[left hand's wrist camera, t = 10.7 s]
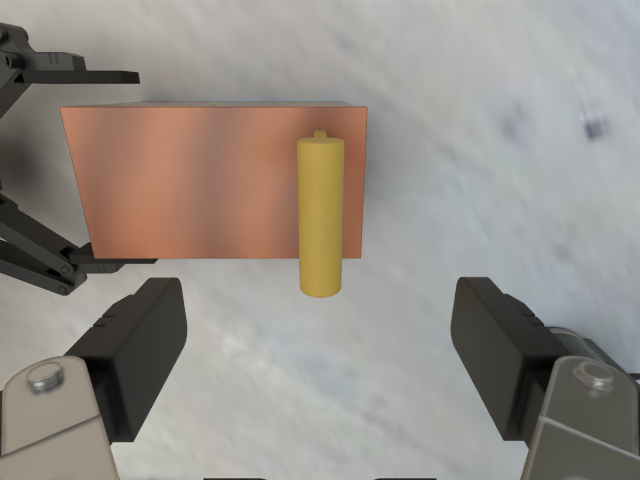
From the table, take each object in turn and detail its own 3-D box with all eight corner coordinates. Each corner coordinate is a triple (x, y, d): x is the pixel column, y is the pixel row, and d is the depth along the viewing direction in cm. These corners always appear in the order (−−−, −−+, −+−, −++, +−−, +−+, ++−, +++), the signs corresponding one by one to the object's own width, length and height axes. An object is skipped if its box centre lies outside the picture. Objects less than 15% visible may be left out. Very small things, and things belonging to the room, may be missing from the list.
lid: (365, 106, 24) (388, 114, 16) (359, 251, 27) (375, 318, 19) (72, 106, 24) (-55, 114, 16) (104, 251, 27) (14, 318, 19)
